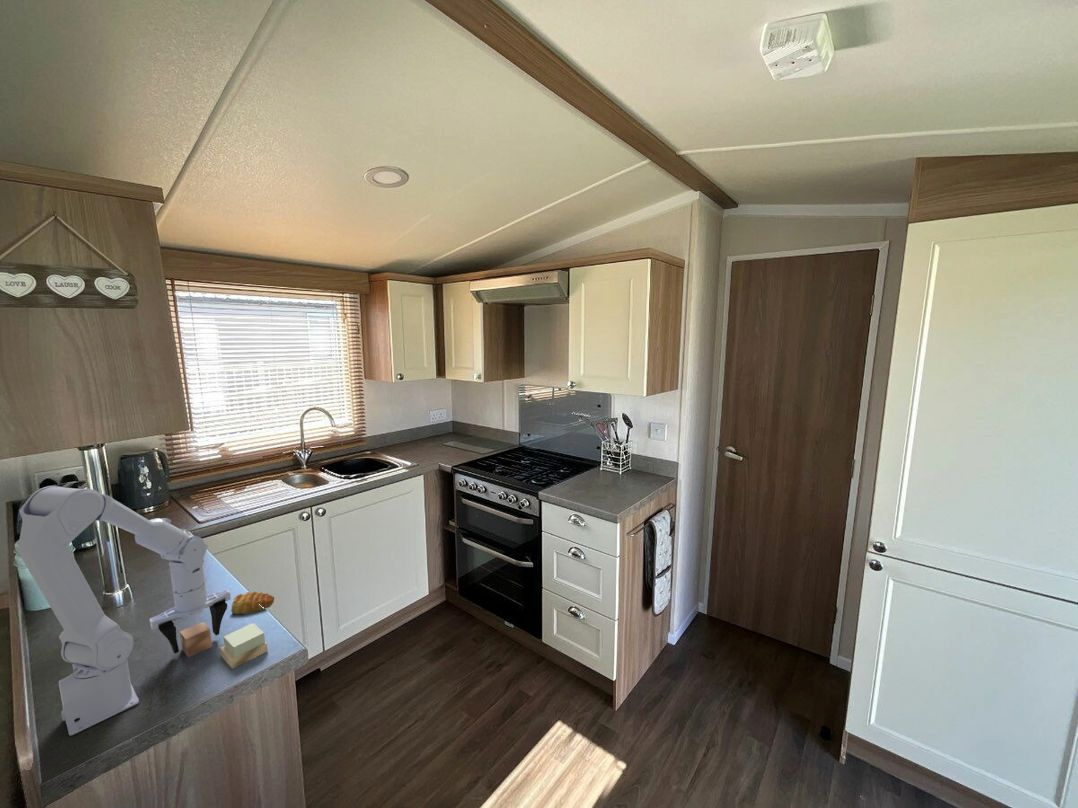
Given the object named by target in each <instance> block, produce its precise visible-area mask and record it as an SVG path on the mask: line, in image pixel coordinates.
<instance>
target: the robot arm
mask: <svg viewBox="0 0 1078 808" xmlns="http://www.w3.org/2000/svg"><path fill="white" fill-rule="evenodd" d="M18 512H19V515H20V517H21V519H22V523H21V529H20V535H19V540H18V545H17V551H18V554H19V556H20V557H21V560H22V561H23V562H24V565H25V566H26V569H28V572H29V573H30V574H31V576H32V577H31V578H33V579H34V582H35V584H36V585H37V587H38V588H39V590H40V591H41V593H42V595H43V596H44V598H45V600H46V602H47V604H48V605H49V607H50V609H51V610H52V613H54V615H55V617H56V618H57V621H58V622H59V624H60V626H61V628H62V629H63V631H62V632H61V633H60V634H59V636H58V638H59V640H60V642H61V650H60V655H61V658H62V659H63V661H65V662H66V663H70V664H71V665H72V672H73V673H71V674H70V675H68V676H66V677H64V678H61V679H60V680H59V681H58V687H59V692H60V693H59V694H60V698H61V703H62V710H61V711H60V713H61V717H62V718H61V719H62V721H63V722H65V724H66V728H67V731H68V732H67V733H68V735H69V736H74V735H76V734H78V733H80V732H82V731H84V730H86V729H89V728H91V727H92V726H95V725H97V724H99V723H101V722H103V721H105V720H107V719H109V718H111V717H113V716H115V715H117V714H120V713H122V712H124V711H126V710H127V709H130V708H131V707H134V706H136V705H138V704H139V703H140V699H139V697H138V695H137V692H136V691H135V689H134V687H133V685H132V683H131V676H130V670H129V663H128V660H129V656H130V654H131V653H132V651H133V648H134V644H135V640H134V637H133V635H132V634H130V633H129V632H126V631H123V630H122V629H121V627H120V625H119V624H118V623H116V622H115V621H114V620H112V619H111V618H109V617H108V616H107V615H106V614H105V613H104V610H103V609H102V607H101V605H100V603H99V602H98V600H97V597H96V596H95V594H94V592H93V591H92V589H91V587H90V585H89V583H88V581H87V579H86V578H85V575H84V574H83V572H82V570H81V568H80V566H79V564H78V563H77V561H76V558H75V557H74V556H73V554H72V552H71V550H70V548H69V547H70V544H71V543H72V542H73V541H74V540H75V539H76V538H77V537H78V536H79V535H80V534H82V533H83V531H84V530H85V529H86V528H87V527H89V526H90V525H91V524H92V523H93V522H95V521H97V522H105V523H107V524H110V525H112V526H114V527H117V528H120V529H122V530H124V531H126V532H127V533H128V532H129V533H131V534H133V535H134V541H135V543H136V544H137V545H140V546H142V547H144V548H146V549H149V550H150V551H152V552H155V553H157V554H159V555H160V556H159V557H161V559H162V560H166V561H168V564H169V571H170V573H169V574H170V578H171V579H170V580H171V587H172V595H173V600H174V606H173V607H171V608H169V609H168V610H166V611H164V612H162V613H161V612H160V614H158V615H156V616H153V617H150V618H149V625H150V628H151V630H152V631H154V630H157V629H158V630H159V631H160V633H161V634H162V635H163V636H164V637H165V638H166V639H167V640H168V642H169V644H170V646H171V649H172V651H173V653H174V654H178V653H179V652H180V650H179V648H180V647H179V644H178V640H177V627H176V626H175V622H174V621H176V620H179V619H181V618H184V617H186V616H194V615H198V614H200V613H203V610H204V609H207V608H209V612H210V615H211V616H210V617H211V627H212V628H211V629H212V633H213V635H215V636H218V635H220V632H221V631H220V630H221V626H222V621H223V618H224V615H225V613H226V611H227V609H228V603H227V602H228V601H231V600H232V598H231V592H230V591H229V590H228V589H225V590H221V591H218V592H214V593H210V594H207V589H206V580H205V574H204V563H205V561H204V558H205V555H206V552H207V551H208V550H207V549H208V543H205V541H204V539H203V538H202V537H200V536H198V535H192V534H191V535H190V534H189V533H188V532H189V530H187V529H186V528H178V527H176V526H175V525H173V524H171V522H172V519H169V518H167V517H165V518H164V517H163V518H159V517H158V518H152V519H148V518H146V517H144V516H143V515H141V514H139V513H138V512H136V511H135V510H132V509H131V508H130V507H127V506H126V505H124V504H123V503H121V502H120V501H117V499H114V498H113V497H112V496H110V495H107V494H103V493H101V492H99V491H98V490H95V489H92V488H73V487H63V486H59V485H47V486H45V487H42V488H39V489H37V490H36V491H34V492H33V493H32V494H31V495H30V496H29V497H28V498H27V500H26V501H25V502H24V503H23V505H22V506H21V507H20V508H19V511H18Z"/></svg>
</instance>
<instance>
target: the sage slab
mask: <svg viewBox="0 0 1078 808" xmlns="http://www.w3.org/2000/svg"><path fill="white" fill-rule="evenodd" d="M265 637H266V636H265V632H264V631H263V630H262V629H261V628H259V627H258V626H257V625H256V624H255V623H254V622H253V623H250V624H248V625H245V626H244V627H241V628H239V629H237V630H235V631H232V632H230V633H228V634H226V635H224V636H223V637H222V638H223V643H224V645H225V648H226V649H227V650H228V651H229V652H230V653H231V654H232V655H233V656H234V657H235V658H236V657H238V656H240V655H242V654H244V653H246V652H248V651H250V650H252V649H254V648H256V647H258V646H260V645H262V644H264V643H265V642H266V638H265ZM224 645H223V646H224Z"/></svg>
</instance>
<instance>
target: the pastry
mask: <svg viewBox="0 0 1078 808" xmlns="http://www.w3.org/2000/svg"><path fill="white" fill-rule="evenodd" d="M274 601H275V596H273V595H272V594H269V593H264V592H257V591H252V592H246V593H244V594H242V593H240V594H237V595H236V596H235V597H234V599H233V601H232V604H231V611H230V612H231V613H233V614H236V615H241V614H243V615H247V614H250V613H255V612H260V611H264V610H265V609H269V608H271V606H272V605H273V604H274ZM259 604H260V605H261V606H262V607H264V608H265V609H264V610H263V608H262V607H261V606H260V605H259ZM246 613H247V614H246Z"/></svg>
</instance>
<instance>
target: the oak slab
mask: <svg viewBox="0 0 1078 808" xmlns="http://www.w3.org/2000/svg"><path fill="white" fill-rule="evenodd" d="M219 651H220V657H222V659H223V660H224V661H225V662H226V663H227V665H228V666H229V668H231V670H233V669H235V668H237V667H239V666H241V665H244V664H246V663H247V662H250V661H252V660H254V659H255V658H257V656H258V657H260V656H262V655H264V654H265V652H266V653H268V652H267V651H268V643H267V642H266V641H265V643H264V644H262V645H260V646H258V647H256V648H254V649H252V650H250V651H248V652H246V653H244V654H242V655H240V656H238V657H236V658H235V657H234V656H233V655H232V654H231V653H230V652H229V651H228V650H227V649H226V648H225V645H223V646H220V647H219ZM263 653H264V654H263ZM261 654H262V655H261ZM259 655H260V656H259Z"/></svg>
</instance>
